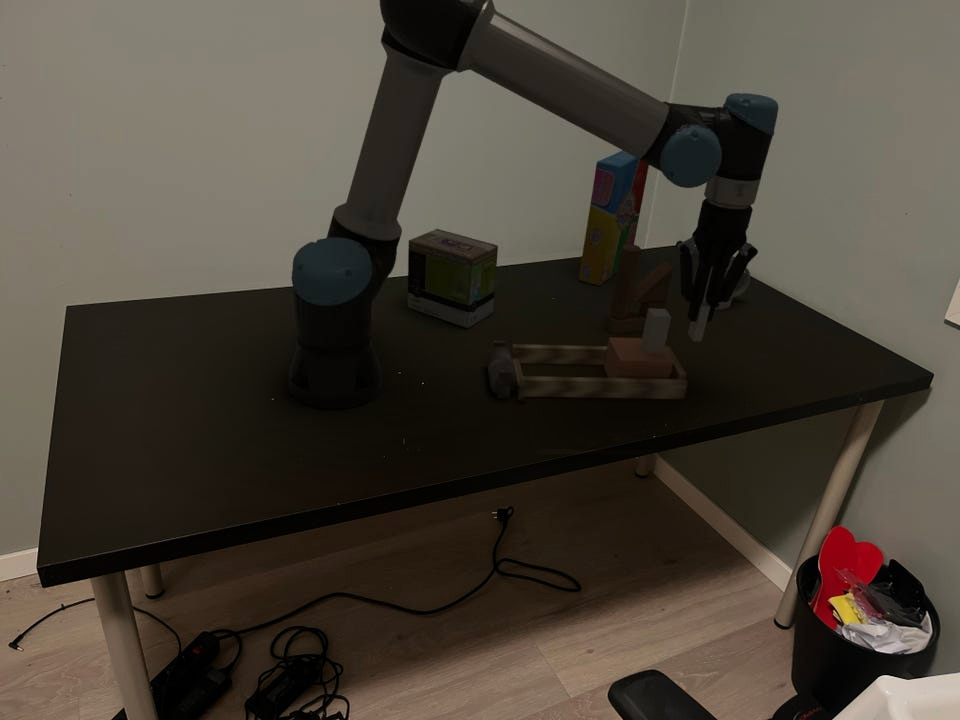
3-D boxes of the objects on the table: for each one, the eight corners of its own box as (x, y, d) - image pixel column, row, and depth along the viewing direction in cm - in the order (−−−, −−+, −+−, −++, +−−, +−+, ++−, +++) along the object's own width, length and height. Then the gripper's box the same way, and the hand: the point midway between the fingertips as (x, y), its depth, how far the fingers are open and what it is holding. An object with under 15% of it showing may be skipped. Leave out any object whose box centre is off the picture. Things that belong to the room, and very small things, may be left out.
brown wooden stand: (659, 333, 142) (678, 248, 133) (610, 337, 139) (626, 251, 130) (650, 324, 145) (668, 241, 136) (602, 328, 142) (617, 243, 133)
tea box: (494, 313, 145) (500, 244, 138) (467, 330, 138) (472, 259, 130) (434, 292, 152) (437, 226, 144) (405, 308, 144) (406, 239, 137)
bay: (490, 400, 117) (492, 374, 114) (484, 363, 127) (486, 338, 125) (682, 403, 120) (689, 378, 117) (661, 366, 130) (667, 343, 128)
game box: (599, 287, 160) (619, 166, 146) (577, 281, 162) (595, 161, 149) (631, 260, 176) (652, 149, 162) (610, 254, 178) (629, 144, 165)
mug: (684, 302, 156) (694, 259, 151) (697, 288, 163) (707, 247, 158) (733, 316, 151) (745, 273, 146) (744, 301, 159) (756, 260, 154)
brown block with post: (614, 392, 120) (628, 323, 113) (603, 365, 127) (615, 300, 121) (666, 393, 121) (682, 325, 114) (651, 367, 128) (666, 301, 122)
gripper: (695, 207, 105) (663, 347, 117) (779, 211, 106) (739, 349, 118) (679, 192, 111) (651, 326, 123) (758, 196, 113) (723, 328, 124)
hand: (694, 337), depth 121 cm, fingers closed
